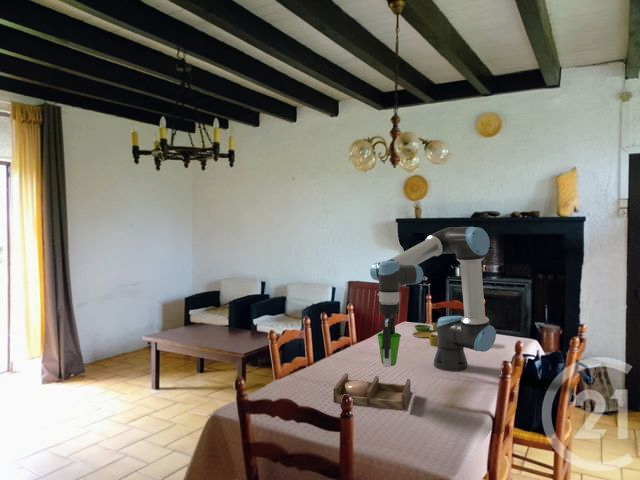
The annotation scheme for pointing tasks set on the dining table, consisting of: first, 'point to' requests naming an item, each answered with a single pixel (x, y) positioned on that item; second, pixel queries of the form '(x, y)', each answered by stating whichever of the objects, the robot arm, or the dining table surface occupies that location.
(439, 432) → the dining table surface
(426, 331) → the tableware set
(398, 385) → the rack
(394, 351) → the cup
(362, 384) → the egg
